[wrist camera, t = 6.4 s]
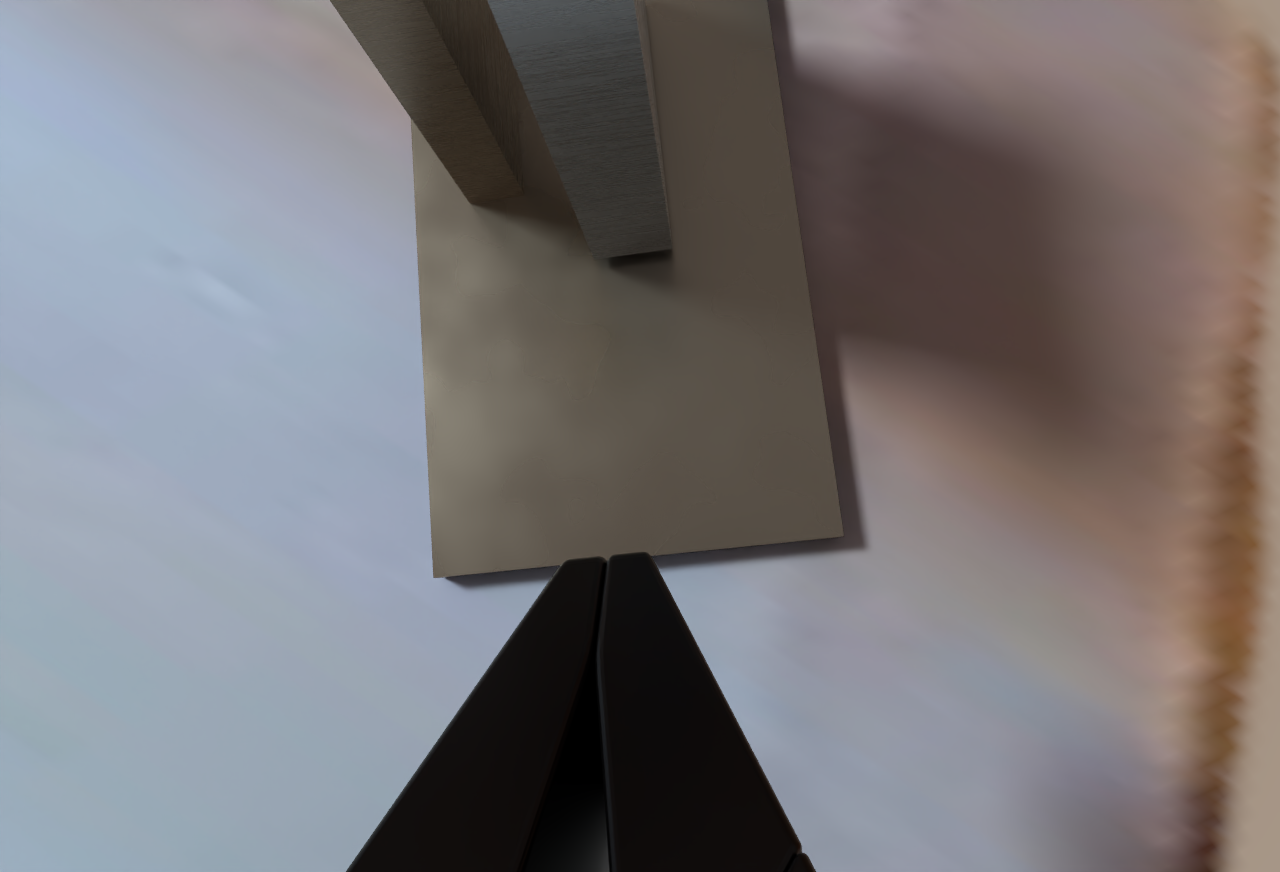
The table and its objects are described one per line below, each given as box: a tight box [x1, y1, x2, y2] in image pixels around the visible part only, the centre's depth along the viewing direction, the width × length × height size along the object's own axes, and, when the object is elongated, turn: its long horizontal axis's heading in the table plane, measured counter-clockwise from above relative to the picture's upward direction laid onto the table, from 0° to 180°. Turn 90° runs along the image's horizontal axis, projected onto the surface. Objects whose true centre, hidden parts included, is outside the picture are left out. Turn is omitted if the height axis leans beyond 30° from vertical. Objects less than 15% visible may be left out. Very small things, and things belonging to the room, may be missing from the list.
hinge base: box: [330, 0, 844, 578], centre depth 11 cm, size 14×8×12 cm, turn 5°
